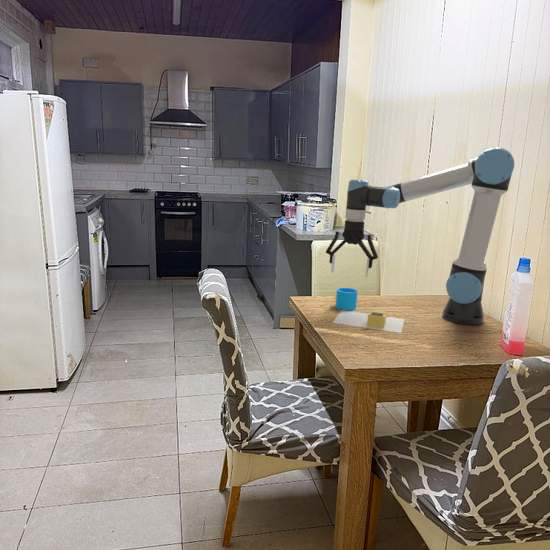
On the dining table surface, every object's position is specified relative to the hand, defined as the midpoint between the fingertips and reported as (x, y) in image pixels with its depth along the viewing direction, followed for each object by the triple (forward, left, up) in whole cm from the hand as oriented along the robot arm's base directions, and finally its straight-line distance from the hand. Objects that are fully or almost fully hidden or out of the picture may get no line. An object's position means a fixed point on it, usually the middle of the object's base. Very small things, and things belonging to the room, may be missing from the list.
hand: (349, 273), depth 200 cm
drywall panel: (-11, +16, -14) cm, 24 cm away
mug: (0, 0, -15) cm, 15 cm away
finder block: (-14, +18, -13) cm, 27 cm away
